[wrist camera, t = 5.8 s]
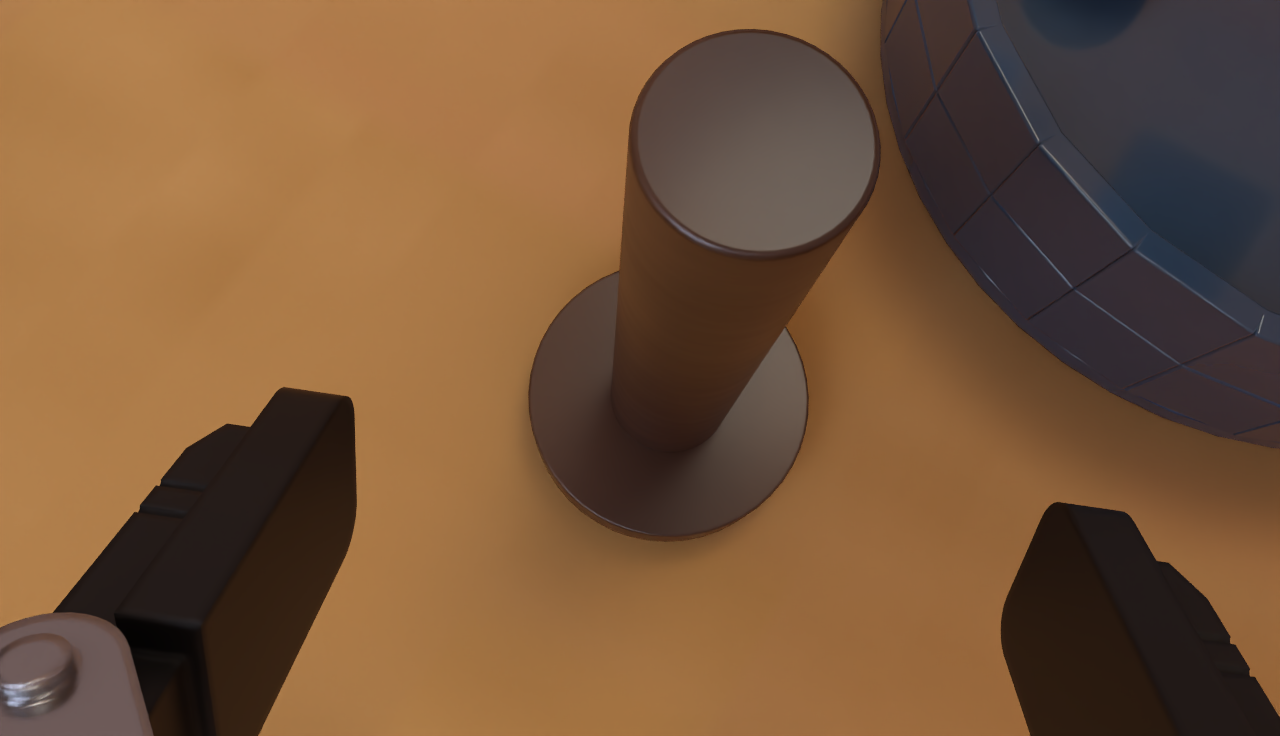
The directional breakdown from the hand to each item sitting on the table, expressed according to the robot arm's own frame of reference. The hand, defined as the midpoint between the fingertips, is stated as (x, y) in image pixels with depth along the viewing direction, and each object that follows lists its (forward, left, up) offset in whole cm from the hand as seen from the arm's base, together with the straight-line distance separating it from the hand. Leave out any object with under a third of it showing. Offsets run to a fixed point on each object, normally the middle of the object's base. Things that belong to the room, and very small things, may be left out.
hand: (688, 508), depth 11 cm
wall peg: (0, +3, -10) cm, 11 cm away
